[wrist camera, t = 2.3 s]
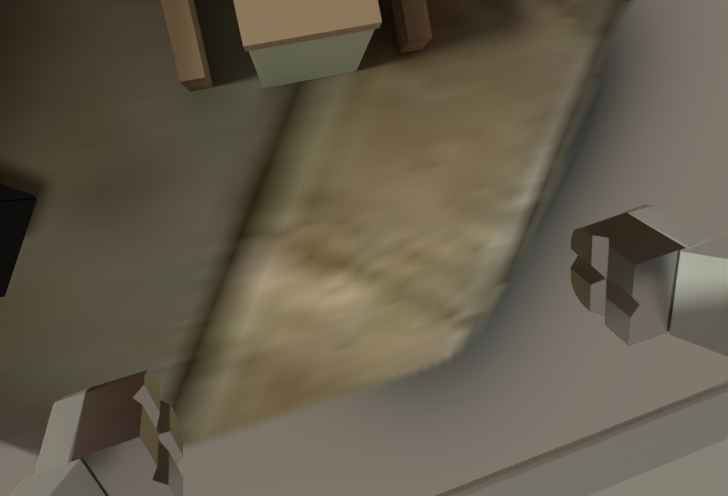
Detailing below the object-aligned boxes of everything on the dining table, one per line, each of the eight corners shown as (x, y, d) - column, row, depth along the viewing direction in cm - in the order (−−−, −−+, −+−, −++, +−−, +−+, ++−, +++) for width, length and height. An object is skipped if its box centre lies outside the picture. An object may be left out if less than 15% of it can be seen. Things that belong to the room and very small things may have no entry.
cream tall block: (261, 90, 29) (243, 46, 20) (240, -12, 29) (210, -104, 20) (358, 73, 30) (381, 22, 21) (339, -28, 29) (354, -126, 20)
